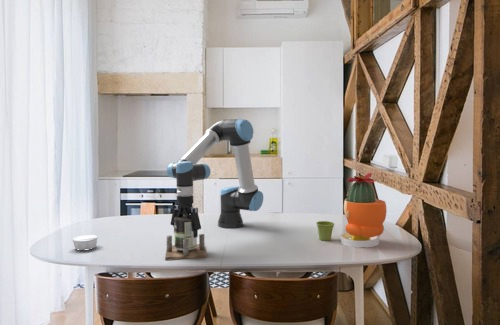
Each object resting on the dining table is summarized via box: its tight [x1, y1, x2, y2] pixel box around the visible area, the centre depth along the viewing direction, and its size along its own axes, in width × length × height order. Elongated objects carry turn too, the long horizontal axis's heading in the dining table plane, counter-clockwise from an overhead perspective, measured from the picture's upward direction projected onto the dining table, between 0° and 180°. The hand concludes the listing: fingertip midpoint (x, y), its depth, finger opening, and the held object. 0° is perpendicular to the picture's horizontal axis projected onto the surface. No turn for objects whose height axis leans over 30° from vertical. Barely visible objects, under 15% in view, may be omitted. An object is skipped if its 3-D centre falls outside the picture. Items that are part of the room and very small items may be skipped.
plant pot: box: [315, 220, 335, 242], centre depth 204 cm, size 9×9×9 cm
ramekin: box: [72, 234, 99, 250], centre depth 190 cm, size 11×11×5 cm
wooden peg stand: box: [164, 233, 207, 261], centre depth 182 cm, size 18×18×8 cm
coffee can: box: [173, 215, 198, 250], centre depth 181 cm, size 10×10×14 cm
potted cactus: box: [340, 172, 387, 248], centre depth 196 cm, size 22×22×35 cm
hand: (185, 242), depth 182 cm, fingers closed on coffee can, 10 cm apart
